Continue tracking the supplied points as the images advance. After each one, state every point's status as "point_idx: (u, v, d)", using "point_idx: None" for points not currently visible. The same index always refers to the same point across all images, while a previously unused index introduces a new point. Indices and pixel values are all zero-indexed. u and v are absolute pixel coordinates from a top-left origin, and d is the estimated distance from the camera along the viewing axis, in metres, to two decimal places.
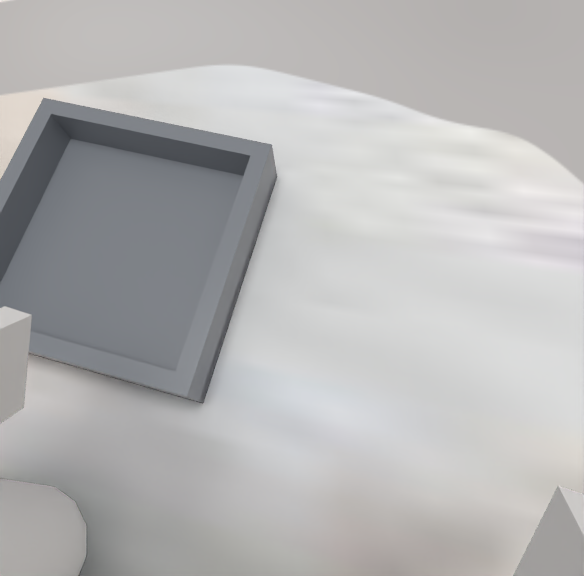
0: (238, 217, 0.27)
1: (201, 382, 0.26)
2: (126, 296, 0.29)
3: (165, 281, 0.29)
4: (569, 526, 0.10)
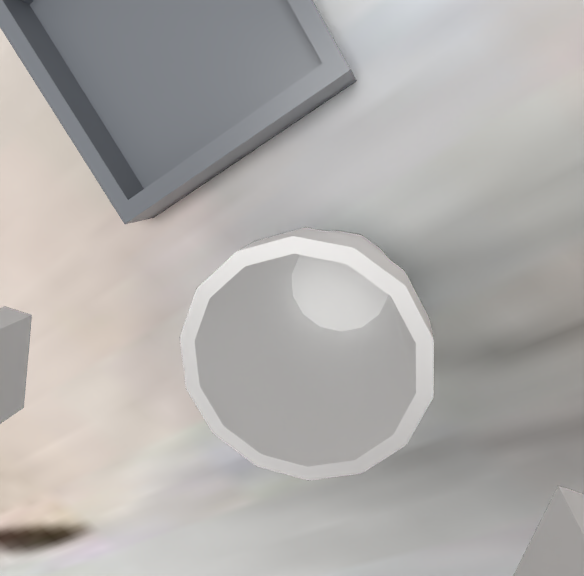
0: None
1: None
2: (218, 69, 0.27)
3: (232, 23, 0.27)
4: (569, 526, 0.10)
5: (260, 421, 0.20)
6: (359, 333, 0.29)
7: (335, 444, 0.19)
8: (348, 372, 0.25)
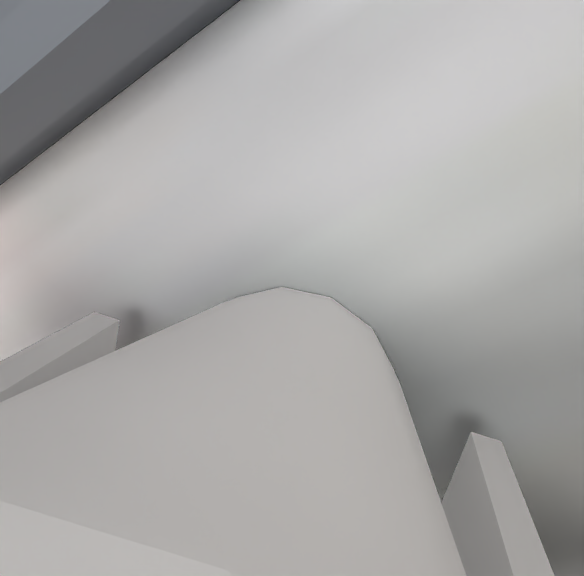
0: None
1: None
2: None
3: None
4: (474, 463, 0.11)
5: None
6: None
7: None
8: None
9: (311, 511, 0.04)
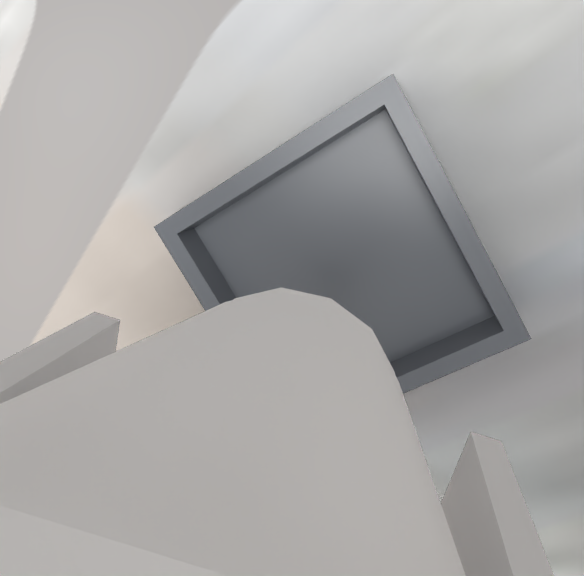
0: (432, 171, 0.24)
1: None
2: (382, 302, 0.29)
3: (400, 265, 0.28)
4: (473, 463, 0.11)
5: None
6: None
7: None
8: None
9: (311, 515, 0.04)
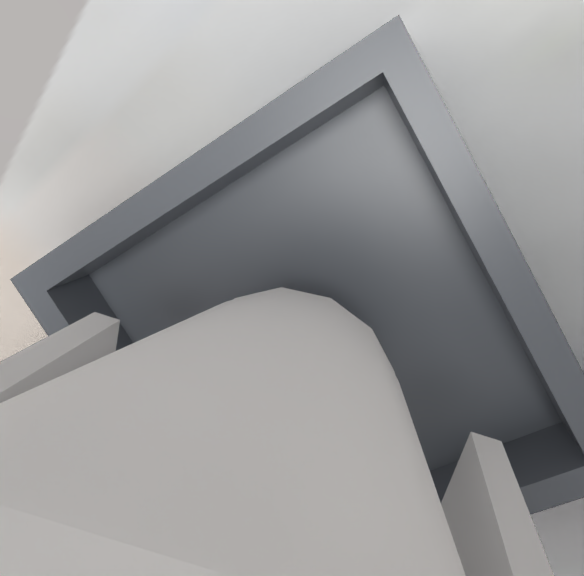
0: (469, 193, 0.13)
1: None
2: None
3: (410, 339, 0.17)
4: (474, 463, 0.11)
5: None
6: None
7: None
8: None
9: (311, 514, 0.04)
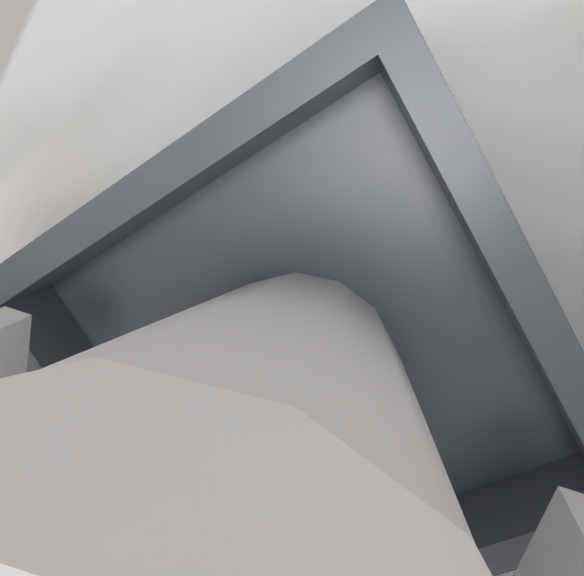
0: (479, 196, 0.12)
1: None
2: None
3: (410, 358, 0.15)
4: (569, 526, 0.10)
5: None
6: None
7: None
8: None
9: (338, 403, 0.06)
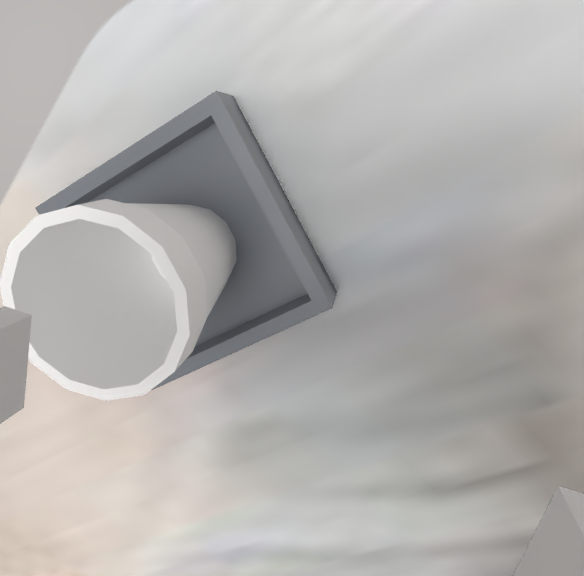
0: (250, 171, 0.30)
1: (328, 287, 0.33)
2: None
3: (242, 246, 0.34)
4: (569, 526, 0.10)
5: (77, 356, 0.25)
6: None
7: (132, 374, 0.24)
8: (177, 323, 0.30)
9: (165, 218, 0.24)
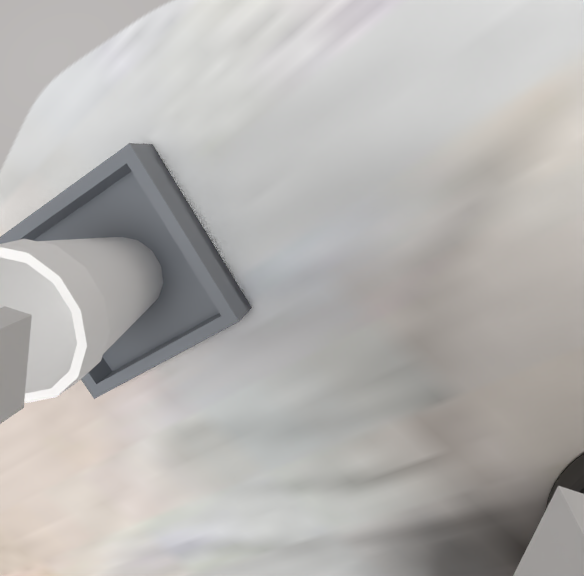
0: (162, 208, 0.35)
1: (239, 303, 0.38)
2: None
3: (166, 270, 0.39)
4: (569, 526, 0.10)
5: None
6: None
7: (50, 380, 0.30)
8: None
9: (76, 252, 0.30)
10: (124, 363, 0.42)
